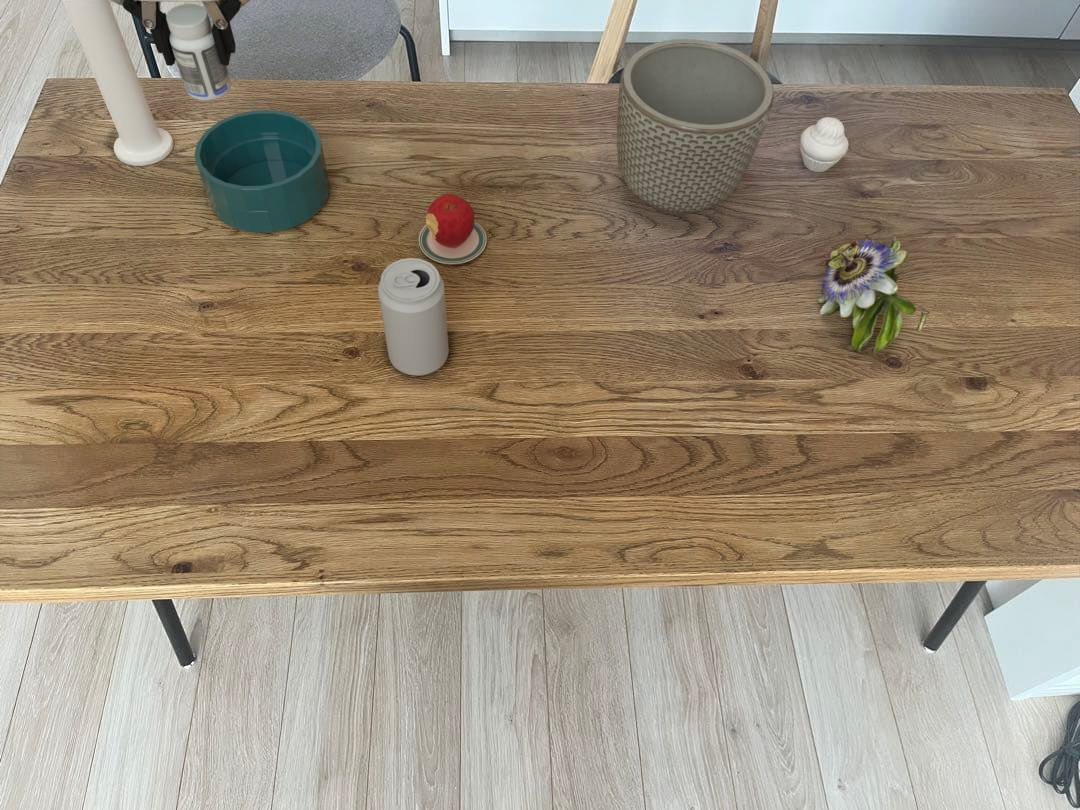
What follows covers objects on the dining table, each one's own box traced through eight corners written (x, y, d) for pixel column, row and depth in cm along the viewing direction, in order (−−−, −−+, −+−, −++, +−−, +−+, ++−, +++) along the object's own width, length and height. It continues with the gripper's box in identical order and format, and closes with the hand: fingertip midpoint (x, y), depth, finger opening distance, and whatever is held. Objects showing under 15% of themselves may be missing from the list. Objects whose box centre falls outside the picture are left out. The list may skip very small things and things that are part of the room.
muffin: (847, 164, 115) (866, 119, 109) (824, 186, 112) (842, 142, 106) (807, 143, 117) (824, 98, 111) (783, 164, 114) (799, 119, 108)
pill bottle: (226, 71, 95) (205, -3, 88) (236, 96, 92) (216, 22, 85) (181, 80, 93) (157, 6, 86) (191, 106, 91) (167, 31, 84)
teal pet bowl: (203, 236, 102) (186, 190, 96) (219, 157, 110) (204, 110, 104) (326, 234, 103) (316, 188, 97) (333, 156, 111) (324, 109, 105)
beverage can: (454, 373, 92) (450, 296, 82) (394, 385, 90) (383, 308, 81) (441, 328, 95) (436, 249, 85) (383, 339, 94) (371, 260, 84)
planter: (690, 262, 103) (719, 152, 90) (577, 194, 109) (589, 81, 96) (767, 191, 111) (804, 81, 98) (658, 131, 117) (679, 20, 104)
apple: (470, 274, 100) (469, 233, 95) (407, 255, 101) (402, 213, 96) (496, 230, 104) (496, 187, 99) (435, 212, 106) (432, 169, 100)
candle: (114, 169, 108) (26, -29, 87) (116, 133, 111) (32, -64, 91) (173, 163, 109) (100, -35, 88) (173, 127, 113) (103, -69, 92)
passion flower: (810, 334, 104) (814, 233, 101) (906, 332, 103) (914, 229, 99) (824, 360, 94) (829, 249, 90) (931, 359, 92) (941, 245, 88)
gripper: (248, -150, 78) (286, 37, 93) (51, -154, 76) (122, 37, 91) (237, -110, 74) (280, 79, 88) (28, -113, 72) (107, 80, 87)
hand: (199, 56), depth 90 cm, fingers closed on pill bottle, 4 cm apart
